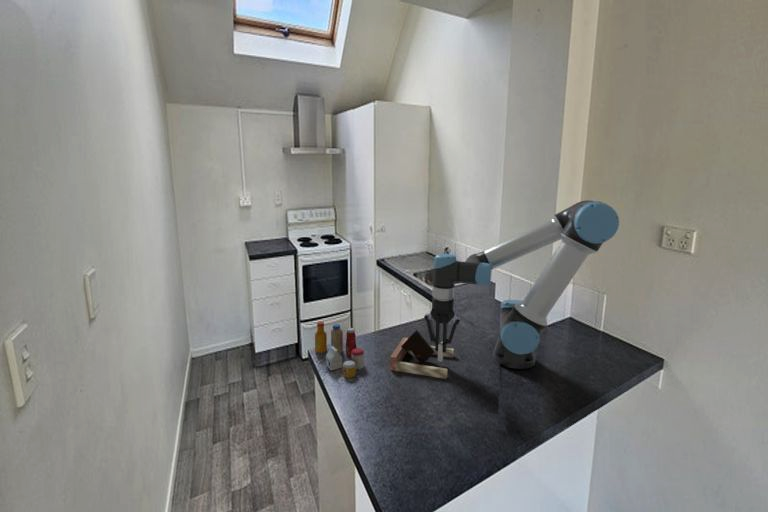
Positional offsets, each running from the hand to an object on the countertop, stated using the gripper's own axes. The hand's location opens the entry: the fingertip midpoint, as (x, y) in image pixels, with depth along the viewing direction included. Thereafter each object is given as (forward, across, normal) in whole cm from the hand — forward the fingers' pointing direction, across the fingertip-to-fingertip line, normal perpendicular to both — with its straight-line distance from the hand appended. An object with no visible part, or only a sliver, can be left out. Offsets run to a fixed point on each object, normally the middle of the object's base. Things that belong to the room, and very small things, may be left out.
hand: (440, 359), depth 135 cm
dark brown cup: (0, +4, -1) cm, 4 cm away
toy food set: (+3, +36, +8) cm, 37 cm away
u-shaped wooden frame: (+2, +5, 0) cm, 6 cm away
